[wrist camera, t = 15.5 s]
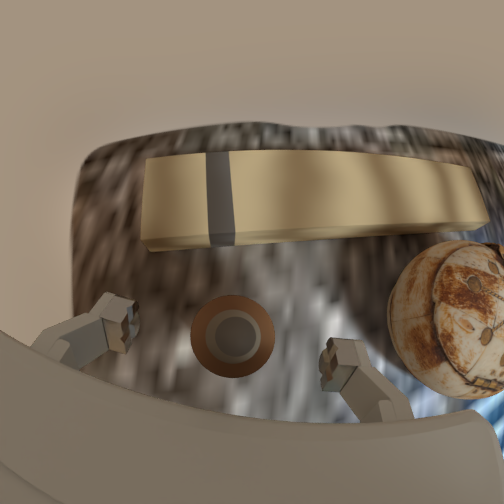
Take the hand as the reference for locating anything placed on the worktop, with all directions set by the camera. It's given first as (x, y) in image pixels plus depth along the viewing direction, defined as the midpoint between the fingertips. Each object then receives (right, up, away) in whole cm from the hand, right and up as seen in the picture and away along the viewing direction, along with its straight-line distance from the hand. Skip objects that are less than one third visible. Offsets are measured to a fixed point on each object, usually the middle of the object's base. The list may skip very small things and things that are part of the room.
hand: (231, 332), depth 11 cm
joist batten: (+8, +7, +10) cm, 15 cm away
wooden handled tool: (-1, -2, +6) cm, 6 cm away
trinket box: (+18, -3, +8) cm, 19 cm away
